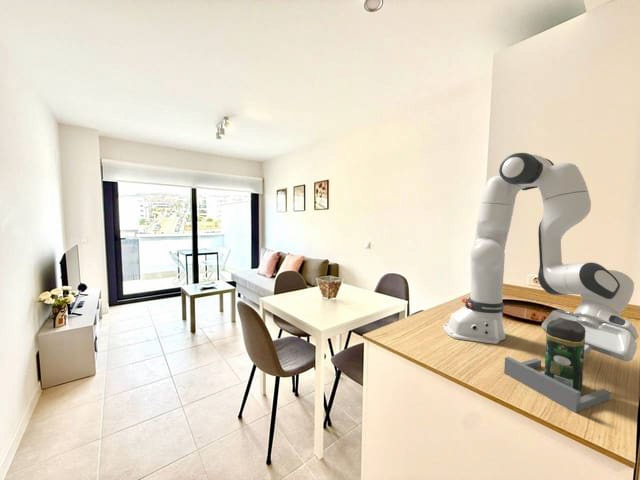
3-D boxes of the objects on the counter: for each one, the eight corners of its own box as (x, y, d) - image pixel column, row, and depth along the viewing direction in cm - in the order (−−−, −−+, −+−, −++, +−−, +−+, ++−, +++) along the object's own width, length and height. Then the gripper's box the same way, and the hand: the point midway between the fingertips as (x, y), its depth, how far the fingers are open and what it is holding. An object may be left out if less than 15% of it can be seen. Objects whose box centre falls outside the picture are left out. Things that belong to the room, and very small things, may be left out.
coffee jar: (548, 372, 83) (552, 313, 81) (584, 384, 77) (588, 321, 75) (539, 384, 77) (543, 321, 75) (577, 399, 71) (582, 331, 69)
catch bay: (535, 364, 87) (536, 349, 87) (610, 399, 70) (611, 381, 70) (504, 373, 83) (504, 357, 82) (575, 412, 66) (577, 393, 65)
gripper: (550, 302, 89) (529, 335, 87) (639, 324, 70) (615, 368, 68) (558, 313, 91) (537, 346, 89) (647, 338, 72) (624, 381, 70)
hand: (572, 356), depth 78 cm, fingers closed, pressing on coffee jar
